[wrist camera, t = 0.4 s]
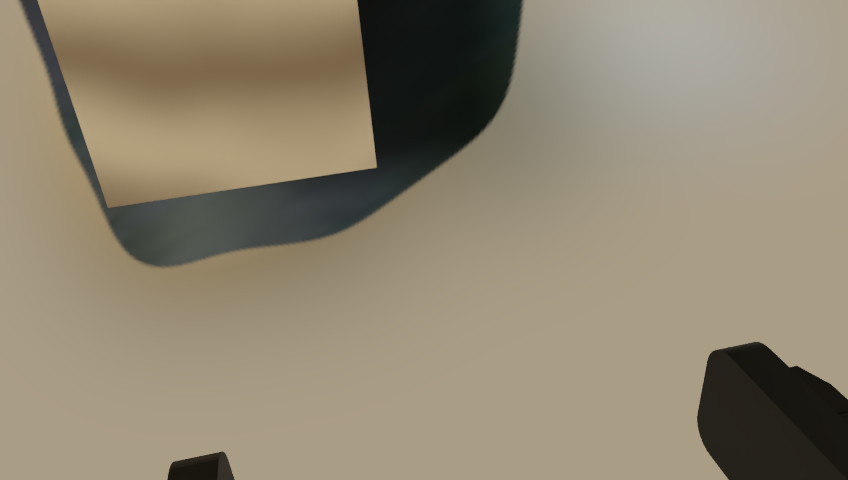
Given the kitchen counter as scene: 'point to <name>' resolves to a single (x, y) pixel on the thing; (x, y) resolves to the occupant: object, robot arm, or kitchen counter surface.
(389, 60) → the kitchen counter surface
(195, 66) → the birch stool
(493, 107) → the kitchen counter surface
